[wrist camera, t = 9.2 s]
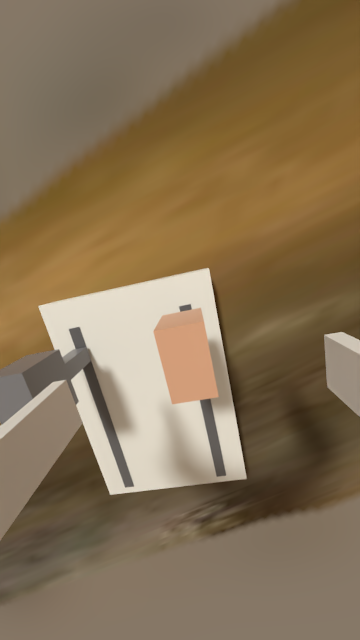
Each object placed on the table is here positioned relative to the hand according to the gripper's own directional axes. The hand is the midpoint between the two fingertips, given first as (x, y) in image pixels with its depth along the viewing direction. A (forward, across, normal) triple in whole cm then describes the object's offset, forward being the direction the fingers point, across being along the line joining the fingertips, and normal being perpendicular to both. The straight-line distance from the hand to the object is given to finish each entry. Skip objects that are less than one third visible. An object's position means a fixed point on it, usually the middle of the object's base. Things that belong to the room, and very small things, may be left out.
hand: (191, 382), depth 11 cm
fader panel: (+14, -6, -8) cm, 18 cm away
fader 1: (+11, -12, -1) cm, 17 cm away
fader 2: (+11, 0, 0) cm, 11 cm away
